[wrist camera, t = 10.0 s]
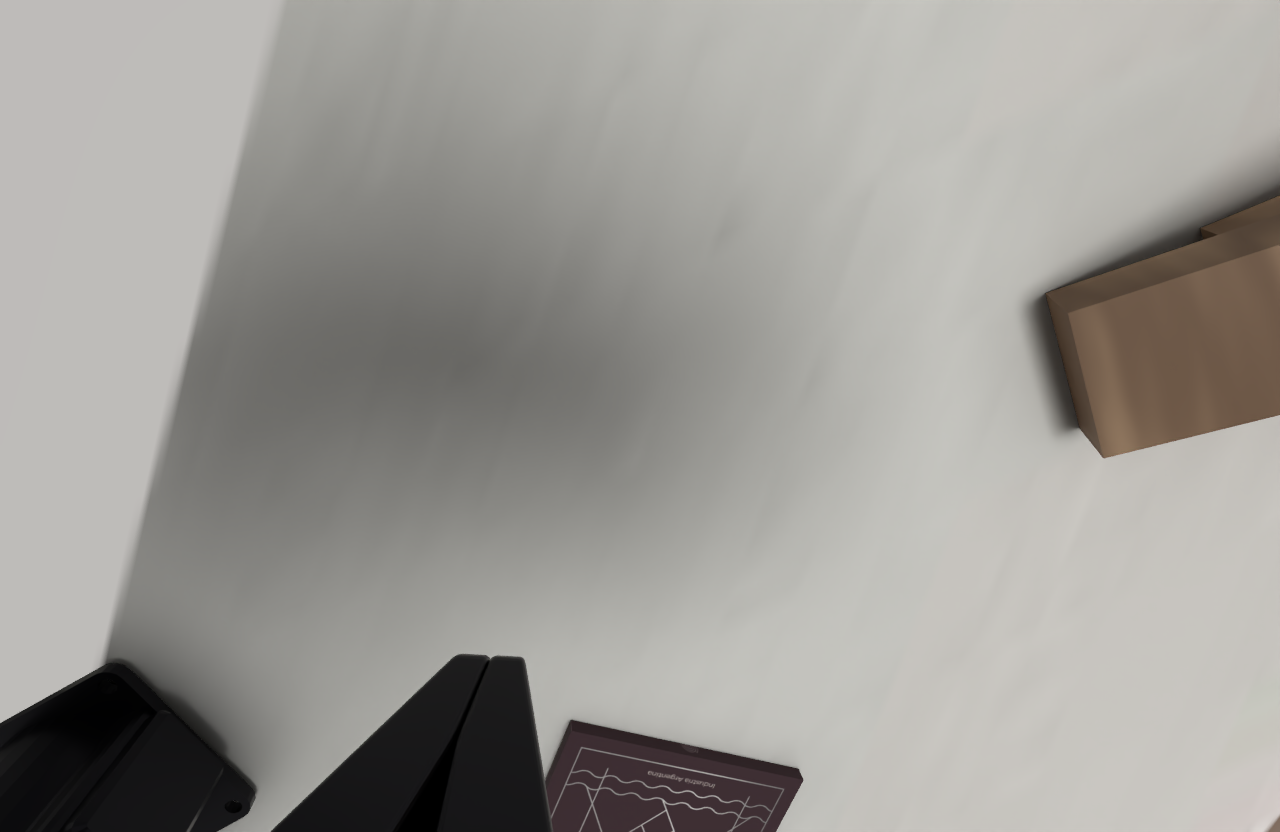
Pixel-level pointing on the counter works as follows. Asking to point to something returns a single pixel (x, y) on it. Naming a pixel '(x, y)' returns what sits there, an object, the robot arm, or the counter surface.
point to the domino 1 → (1175, 341)
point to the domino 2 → (1243, 218)
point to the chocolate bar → (661, 786)
